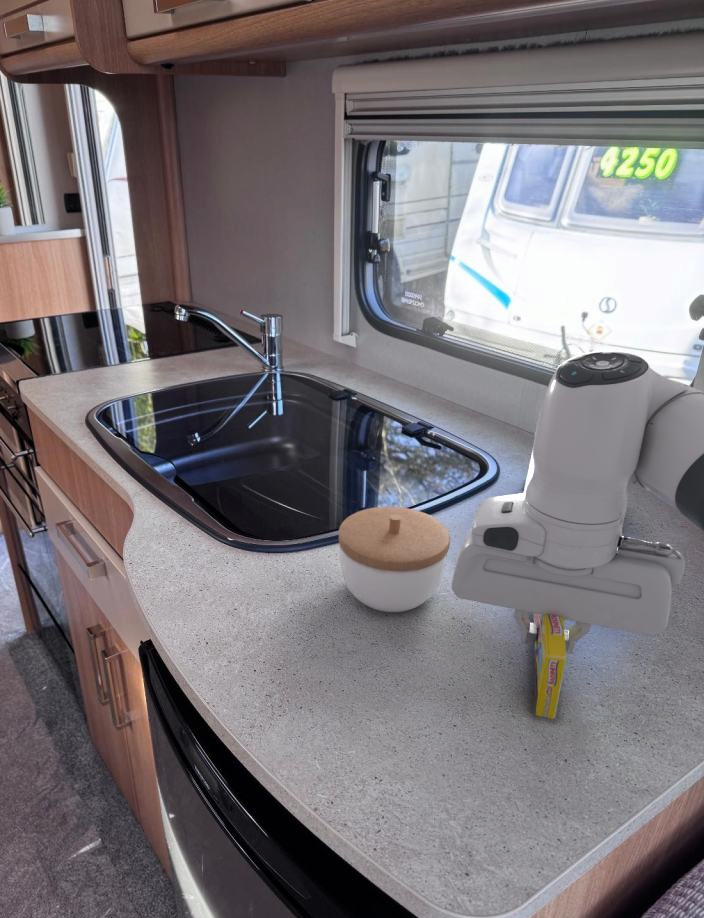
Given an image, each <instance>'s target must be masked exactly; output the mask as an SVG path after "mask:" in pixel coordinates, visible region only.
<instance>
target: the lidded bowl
mask: <svg viewBox="0 0 704 918" xmlns="http://www.w3.org/2000/svg"><path fill="white" fill-rule="evenodd" d="M450 536H451V535H450V532H449V530H448V528H447V527H446V526H445V525H444V524H443V523H442V522H441V520H439V519H437V518H435V517H434V516H433V515H430V514H428V513H425V512H424V511H423V512H422V511H420V510H417V509H412V508H407V507H403V506H402V507H401V506H377V507H370V508H365V509H363V510H359V511H357V512H355V513H352V514H351V515H349V516H347V517H346V518H345V519H344V520H343V521H342V522H341V524H340V525H339V528H338V545H339V563H340V570H341V574H342V578H343V581H344V583H345V585H346V587H347V589H348V591H350V593H351V594H352V595H353V596H354V597H355V599H357V600H358V601H359V602H361V604H363V605H365V606H366V607H368V608H370V609H373V610H376V611H379V612H384V613H402V612H407V611H410V610H411V611H412V610H413V609H415V608H417V607H420V606H421V605H422V604H424V603H425V602H427V601H428V600H429V599H430V598H431V597H432V596H433V595H434V594H435V592H436V590H437V589H438V587H439V585H440V584H441V581H442V578H443V576H444V572H445V570H446V566H447V558H448V552H449V549H450V546H451V545H450V544H451V537H450Z"/></svg>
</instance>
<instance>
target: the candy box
mask: <svg viewBox="0 0 704 918" xmlns="http://www.w3.org/2000/svg"><path fill="white" fill-rule="evenodd" d="M564 621H565V619H563V617H560V616H554V615H548V614H546V615H542V614H536V613H533V623H536V624H538V631H537V637H536V642H535V646H533V652H534V654H533V655H534V681H535V682H534V685H535V688H534V689H535V716H536V717H537V716H538V717H541V718H545V719H551V720H554V719H555V718H556V716H557V710H558V705H559V700H560V694H561V689H562V684H563V680H564V673H565V668H566V663H567V656H566V654H567V653H566V646H565V632H564V629H565V622H564Z"/></svg>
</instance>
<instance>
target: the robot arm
mask: <svg viewBox="0 0 704 918" xmlns="http://www.w3.org/2000/svg"><path fill="white" fill-rule="evenodd" d="M533 439H534V440H533V445H534V446H533V445H532V449H533V460H534V473H533V476H532V478H531V480H530V482H529V484H528V486H527V489H526V492H525V493H523V492H520V493H513V494H504V495H495V496H488V497H485V498H483V499H482V500H481V502H480V503H479V505H478V507H477V508H476V510H475V513H474V516H473V520H472V523H471V526H470V527H469V529H468V531H467V533H466V534H465V538H464V540H463V542H462V545H461V548H460V550H459V553H458V556H457V561H456V564H455V567H454V571H453V575H452V580H451V586H450V588H451V591H452V592H453V594H454V595H455V596H456V598H458V599H460V600H466V601H471V602H476V603H481V604H487V605H491V606H497V607H502V608H506V609H507V608H508V609H512V610H514V611H513V618H514V620H515V622H516V624H517V625H518V628H519V629H520V631H521V635H520V641H519V643H520V644H523V645H526V646H533V647H534V646H535V642H536V637H537V631H538V624H536V623H534V622H531V620H530V618H529V613H531V614H532V613H533V614H534V613H536V614H542V615H546V614H548V615H554V616H560V617H563V620H568V621H573V622H575V623H574V624H573V625H572V626H571V627H570V628H569V629H565V628H564V632H565V646H566V653H565V654H569V655H570V654H571V655H572V654H573V653H574V648H575V643H577V642H579V641H580V640H581V639H582V638H583V637H585V636H586V635H587V634H589V633H590V631H591V628H592V626H598V627H603V628H607V629H613V630H618V631H623V632H628V633H632V634H638V635H643V636H647V637H657V635H660V634H661V633H663V632H665V631H666V630H667V627H668V623H669V618H670V612H671V607H672V606H671V605H672V589H673V588H675V587H676V586H678V585H679V584H680V583H681V581H682V579H683V576H684V573H685V569H686V563H687V562H686V559H685V557H684V555H683V554H682V553H681V552H679V551H678V550H676V549H674V548H673V546H672V545H671V544H668V543H666V542H658V541H657V542H653V541H647V540H644V539H641V538H635V537H628V536H624V535H623V536H620V534H621V530H622V529H623V526H624V521H625V517H626V513H627V509H628V496H629V494H631V492H632V491H634V490H639V489H640V490H641V489H645V490H646V491H648V492H650V493H651V494H652V495H654V496H656V497H658V498H659V499H660V500H662V501H664V502H665V503H667V504H668V505H670V506H671V507H673V508H674V509H676V510H678V512H679V513H680V514H681V515H683V517H685V518H686V519H688V520H689V521H690V522H691V523H692V524H694V525H695V526H696V527H697V528H699V529H700V530H701V531H702V532H704V391H702V390H699V389H697V388H695V387H693V386H691V385H688V384H686V383H683V382H680V381H678V380H673V379H670V378H668V377H665V376H664V375H661V374H660V373H658V372H657V371H656V370H654V369H652V368H651V367H650V365H649V363H648V362H647V361H646V360H645V359H644V358H643V357H641V356H638V355H637V354H633V353H630V352H626V351H621V350H594V351H587V352H584V353H580V354H577V355H575V356H572V357H570V358H568V359H566V360H565V361H563V362H561V364H560V365H559V366H558V367H557V369H556V370H555V372H554V373H553V375H552V377H551V378H550V381H549V382H548V385H547V387H546V390H545V393H544V396H543V399H542V403H541V406H540V409H539V415H538V418H537V422H536V428H535V433H534V438H533Z"/></svg>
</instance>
